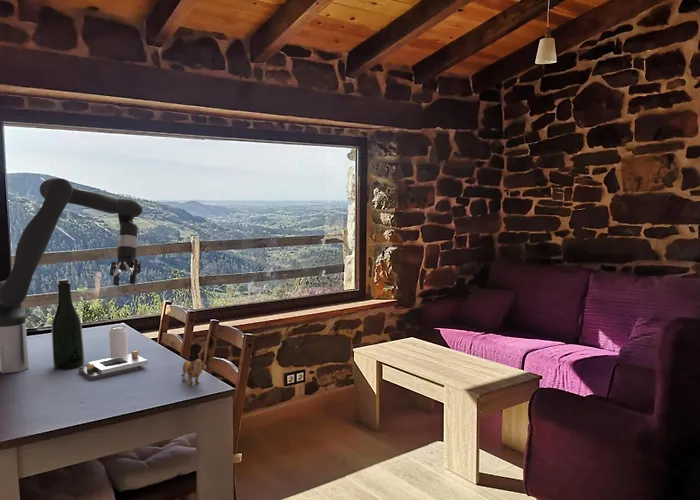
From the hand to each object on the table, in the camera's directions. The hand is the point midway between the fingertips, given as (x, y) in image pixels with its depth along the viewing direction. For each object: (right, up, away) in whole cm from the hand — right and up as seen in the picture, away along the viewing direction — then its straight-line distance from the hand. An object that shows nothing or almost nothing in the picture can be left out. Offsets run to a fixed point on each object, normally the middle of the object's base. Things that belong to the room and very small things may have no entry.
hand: (124, 284), depth 228 cm
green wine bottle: (-12, -30, -21) cm, 38 cm away
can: (+2, -28, -10) cm, 30 cm away
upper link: (+9, -28, -26) cm, 39 cm away
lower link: (+6, -30, -29) cm, 42 cm away
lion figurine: (+41, -31, -42) cm, 66 cm away
